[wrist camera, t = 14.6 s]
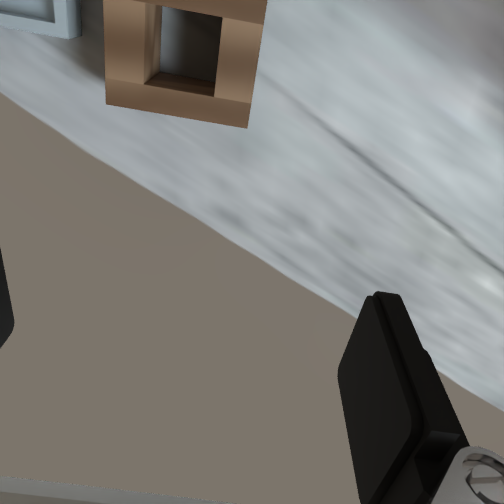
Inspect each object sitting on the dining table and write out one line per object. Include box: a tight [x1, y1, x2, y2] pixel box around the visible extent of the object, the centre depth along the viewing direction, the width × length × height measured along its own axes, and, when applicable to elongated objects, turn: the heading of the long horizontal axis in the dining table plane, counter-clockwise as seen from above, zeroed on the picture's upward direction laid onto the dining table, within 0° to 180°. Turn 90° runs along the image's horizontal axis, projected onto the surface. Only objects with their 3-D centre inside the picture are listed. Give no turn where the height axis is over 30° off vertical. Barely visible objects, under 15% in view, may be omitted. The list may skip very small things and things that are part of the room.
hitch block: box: [103, 0, 267, 128], centre depth 35 cm, size 10×12×6 cm
